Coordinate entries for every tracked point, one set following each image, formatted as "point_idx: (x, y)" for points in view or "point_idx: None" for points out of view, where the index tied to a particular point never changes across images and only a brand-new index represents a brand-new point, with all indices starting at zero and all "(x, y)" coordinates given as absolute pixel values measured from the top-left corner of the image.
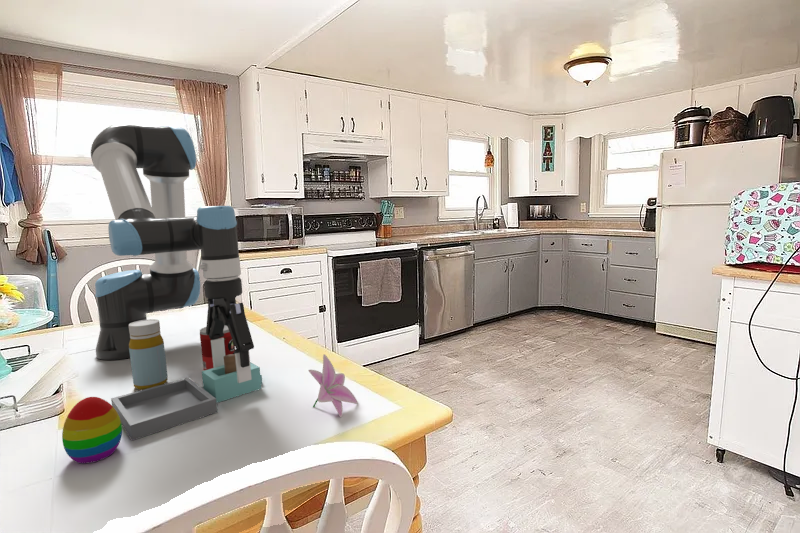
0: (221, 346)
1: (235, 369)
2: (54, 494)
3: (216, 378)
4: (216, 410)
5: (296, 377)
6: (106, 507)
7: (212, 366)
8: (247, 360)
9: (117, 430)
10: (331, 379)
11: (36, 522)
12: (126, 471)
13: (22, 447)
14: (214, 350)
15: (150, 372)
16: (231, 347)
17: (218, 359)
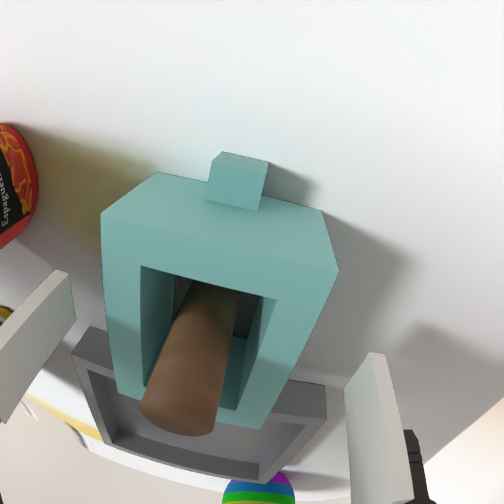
0: (9, 359)
1: (226, 353)
2: (308, 493)
3: (252, 422)
4: (323, 391)
5: (372, 21)
6: None
7: (5, 244)
8: (416, 461)
9: (290, 502)
10: None
11: (337, 497)
12: (343, 474)
13: (158, 473)
14: (30, 377)
15: None
16: None
17: (52, 328)
